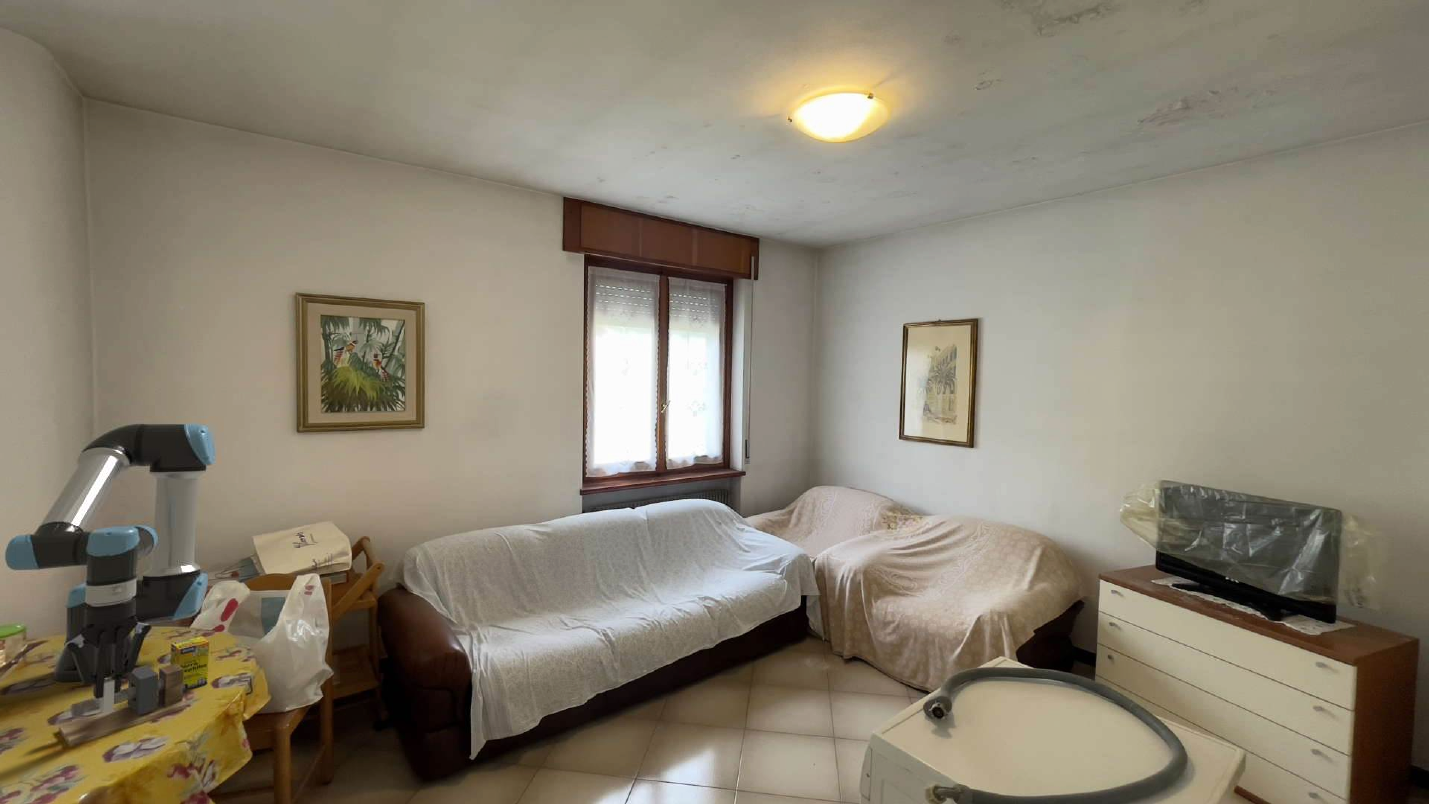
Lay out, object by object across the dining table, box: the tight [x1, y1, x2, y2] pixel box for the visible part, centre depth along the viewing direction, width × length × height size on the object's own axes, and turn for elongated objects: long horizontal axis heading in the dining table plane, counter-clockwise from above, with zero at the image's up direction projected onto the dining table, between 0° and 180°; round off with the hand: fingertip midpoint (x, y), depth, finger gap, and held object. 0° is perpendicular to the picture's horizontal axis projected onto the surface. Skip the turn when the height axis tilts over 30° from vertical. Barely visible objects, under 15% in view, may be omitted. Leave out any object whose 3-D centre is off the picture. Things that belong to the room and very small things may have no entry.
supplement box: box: [169, 635, 210, 692], centre depth 141 cm, size 6×6×11 cm
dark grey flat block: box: [127, 664, 159, 716], centre depth 129 cm, size 3×8×8 cm, turn 58°
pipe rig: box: [58, 664, 187, 748], centre depth 126 cm, size 18×10×8 cm, turn 148°
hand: (106, 710), depth 121 cm, fingers closed
